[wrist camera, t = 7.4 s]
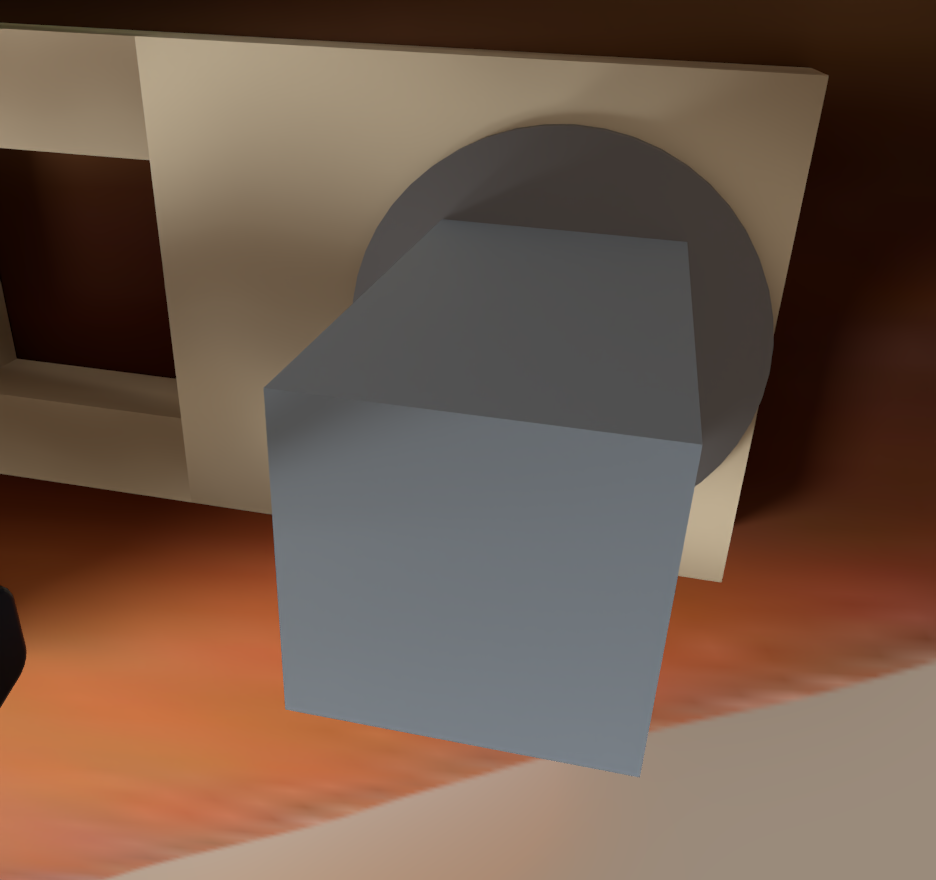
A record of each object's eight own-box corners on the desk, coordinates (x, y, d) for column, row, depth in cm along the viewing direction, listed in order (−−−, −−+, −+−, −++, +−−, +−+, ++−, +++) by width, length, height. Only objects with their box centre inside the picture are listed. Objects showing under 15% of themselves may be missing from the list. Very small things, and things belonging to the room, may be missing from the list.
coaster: (729, 543, 18) (730, 553, 18) (360, 490, 19) (355, 498, 19) (815, 140, 14) (818, 143, 14) (354, 109, 16) (347, 111, 15)
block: (651, 462, 17) (640, 777, 10) (435, 433, 18) (285, 709, 11) (687, 242, 15) (702, 445, 8) (442, 219, 16) (262, 388, 9)
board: (716, 532, 20) (721, 582, 19) (-7, 429, 23) (-62, 464, 22) (810, 67, 16) (828, 75, 14) (-103, 16, 19) (-183, 18, 17)
